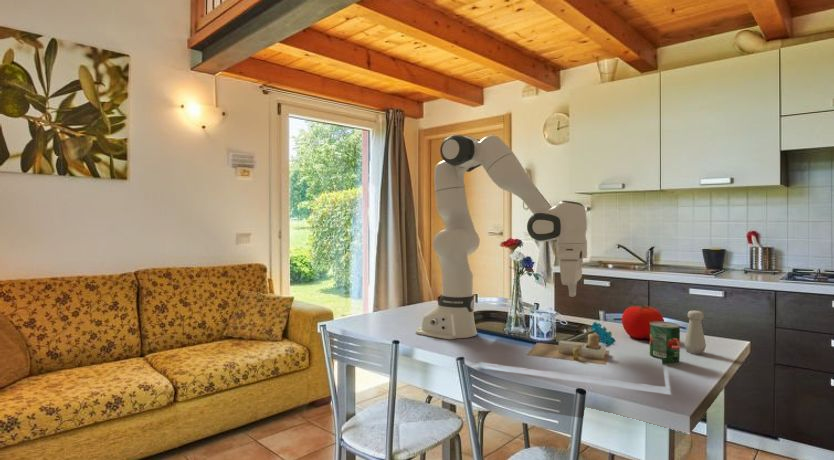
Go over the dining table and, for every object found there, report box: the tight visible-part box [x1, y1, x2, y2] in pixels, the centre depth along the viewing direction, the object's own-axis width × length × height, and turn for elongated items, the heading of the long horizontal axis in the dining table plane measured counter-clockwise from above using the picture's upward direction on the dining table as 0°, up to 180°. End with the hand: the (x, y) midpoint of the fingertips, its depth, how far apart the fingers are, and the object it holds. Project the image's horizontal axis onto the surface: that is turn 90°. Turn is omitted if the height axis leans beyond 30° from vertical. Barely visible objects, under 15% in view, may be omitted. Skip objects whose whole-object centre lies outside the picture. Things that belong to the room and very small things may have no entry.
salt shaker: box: [684, 310, 707, 355], centre depth 147 cm, size 6×6×13 cm
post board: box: [526, 333, 610, 365], centre depth 142 cm, size 22×15×8 cm
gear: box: [591, 321, 616, 346], centre depth 156 cm, size 11×6×10 cm
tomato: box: [621, 304, 665, 340], centre depth 166 cm, size 13×14×12 cm
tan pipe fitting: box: [558, 340, 607, 359], centre depth 141 cm, size 13×6×3 cm, turn 64°
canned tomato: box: [649, 321, 681, 366], centre depth 139 cm, size 8×8×11 cm
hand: (572, 296), depth 148 cm, fingers closed
